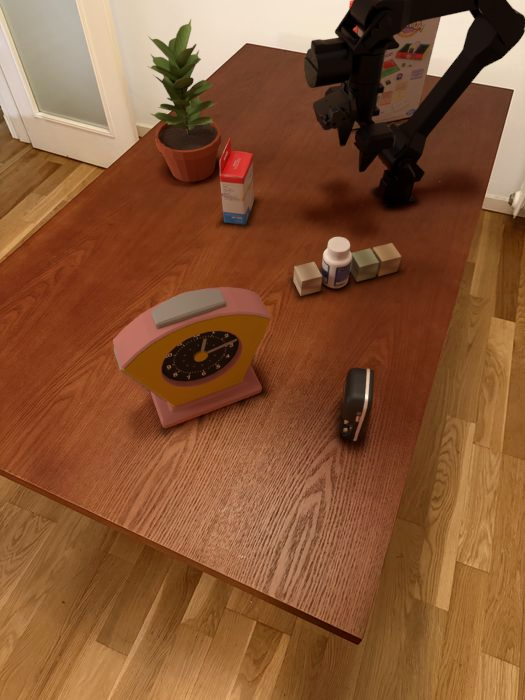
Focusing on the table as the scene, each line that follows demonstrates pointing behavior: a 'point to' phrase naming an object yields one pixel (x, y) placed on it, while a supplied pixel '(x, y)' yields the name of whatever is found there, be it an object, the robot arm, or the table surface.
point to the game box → (405, 70)
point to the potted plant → (185, 113)
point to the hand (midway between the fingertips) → (351, 158)
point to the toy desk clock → (195, 351)
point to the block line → (351, 268)
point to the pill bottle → (336, 263)
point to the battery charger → (356, 402)
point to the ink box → (236, 185)
